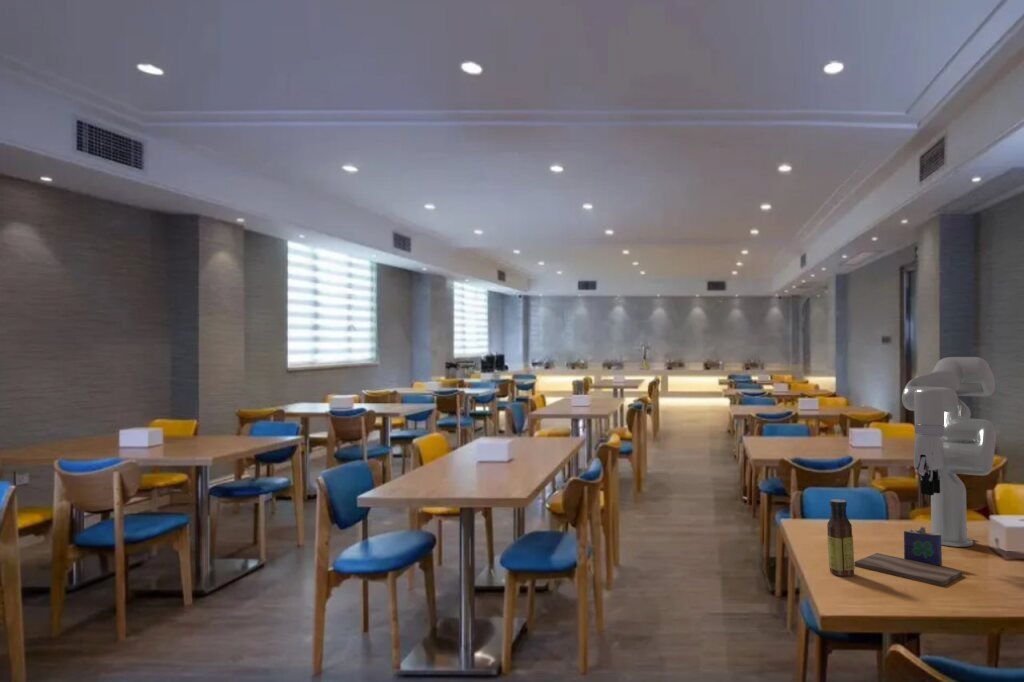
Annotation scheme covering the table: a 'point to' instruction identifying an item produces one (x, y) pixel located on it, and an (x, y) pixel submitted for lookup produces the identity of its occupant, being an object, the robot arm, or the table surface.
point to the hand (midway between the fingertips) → (930, 492)
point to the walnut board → (909, 569)
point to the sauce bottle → (840, 540)
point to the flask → (923, 546)
